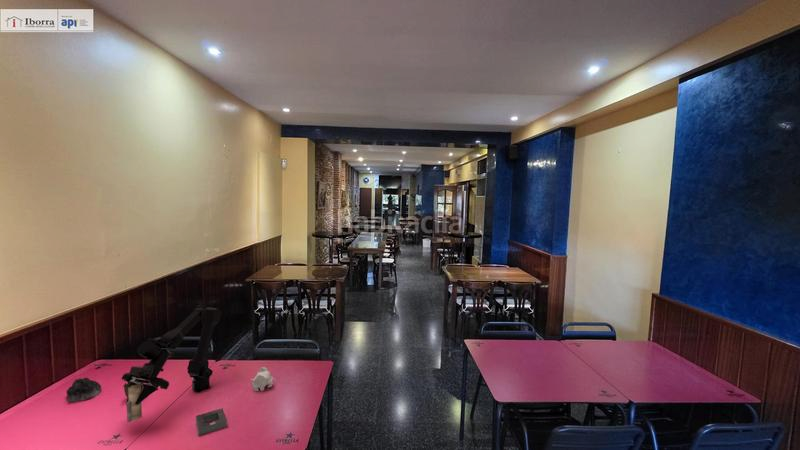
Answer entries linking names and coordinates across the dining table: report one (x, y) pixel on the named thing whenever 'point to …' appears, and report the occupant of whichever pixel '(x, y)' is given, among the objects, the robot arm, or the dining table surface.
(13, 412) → the dining table surface
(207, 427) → the block
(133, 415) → the keyed peg
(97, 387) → the dark grey rock
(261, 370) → the elephant figurine
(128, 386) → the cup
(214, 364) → the dining table surface
